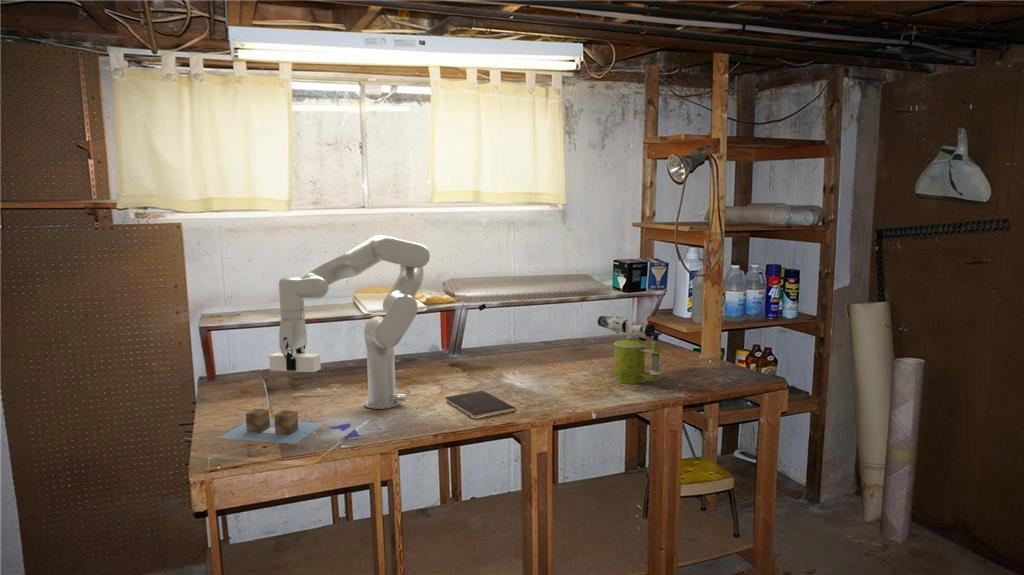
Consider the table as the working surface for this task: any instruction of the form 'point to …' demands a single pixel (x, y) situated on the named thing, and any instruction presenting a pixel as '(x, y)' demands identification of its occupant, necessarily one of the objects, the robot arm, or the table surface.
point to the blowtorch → (632, 350)
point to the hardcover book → (479, 403)
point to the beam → (302, 362)
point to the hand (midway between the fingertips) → (295, 367)
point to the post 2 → (286, 422)
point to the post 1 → (257, 420)
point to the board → (272, 433)
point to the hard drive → (351, 435)
